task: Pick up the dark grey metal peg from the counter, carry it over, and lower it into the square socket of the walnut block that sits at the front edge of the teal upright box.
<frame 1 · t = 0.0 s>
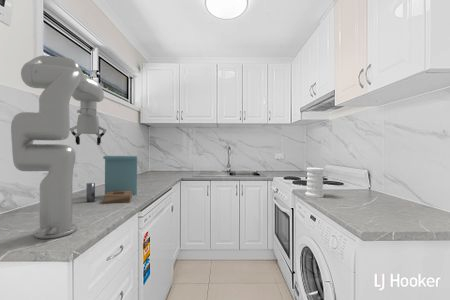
hand: (88, 144, 126), 31 cm above the countertop, tool pointing down, fingers open, 9 cm apart
decorative container: (314, 195, 156), on the countertop
peg: (90, 201, 128), on the countertop
teal upright box: (120, 176, 142), on the countertop
socket block: (118, 200, 133), on the countertop
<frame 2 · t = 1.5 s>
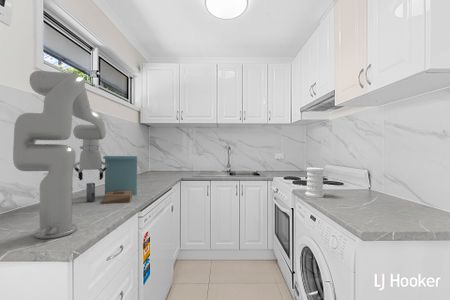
hand: (91, 179, 129), 12 cm above the countertop, tool pointing down, fingers open, 9 cm apart
nothing on the countertop moved.
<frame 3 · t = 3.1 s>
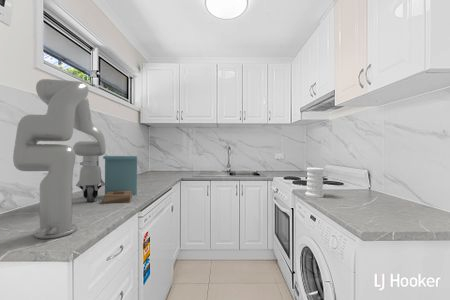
hand: (90, 197, 128), 2 cm above the countertop, tool pointing down, fingers closed on peg, 4 cm apart
peg: (90, 201, 128), on the countertop, touching gripper
everything else where it was.
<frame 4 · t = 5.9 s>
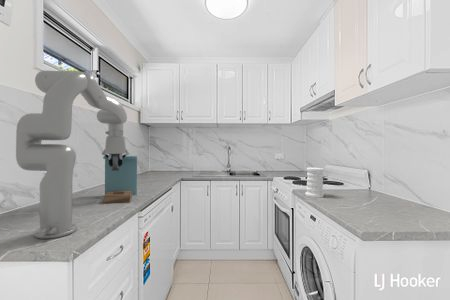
hand: (115, 166, 132), 19 cm above the countertop, tool pointing down, fingers closed on peg, 4 cm apart
peg: (115, 170, 132), point 17 cm above the countertop, touching gripper
everything else where it was.
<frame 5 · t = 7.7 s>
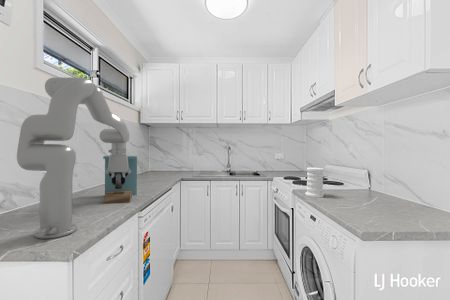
hand: (118, 184, 132), 9 cm above the countertop, tool pointing down, fingers closed on peg, 4 cm apart
peg: (118, 188, 133), point 7 cm above the countertop, touching gripper
everything else where it was.
when the fingers open (5 cm above the countertop, at t = 8.9 s): peg drops 2 cm, resting in socket block.
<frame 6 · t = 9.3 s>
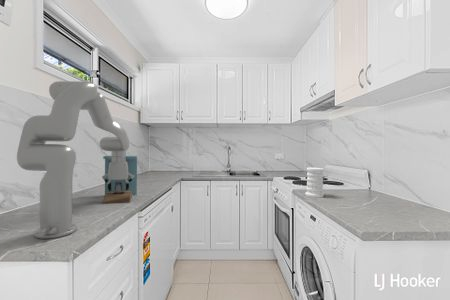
hand: (118, 190, 133), 6 cm above the countertop, tool pointing down, fingers open, 8 cm apart
peg: (118, 200, 133), resting in socket block
everything else where it was.
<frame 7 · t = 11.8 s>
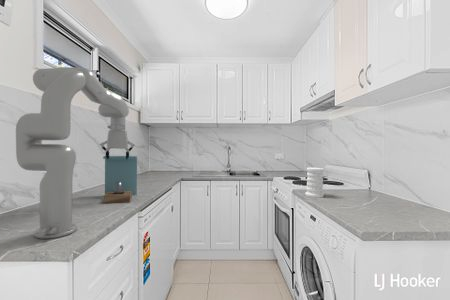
hand: (117, 158, 131), 23 cm above the countertop, tool pointing down, fingers open, 9 cm apart
nothing on the countertop moved.
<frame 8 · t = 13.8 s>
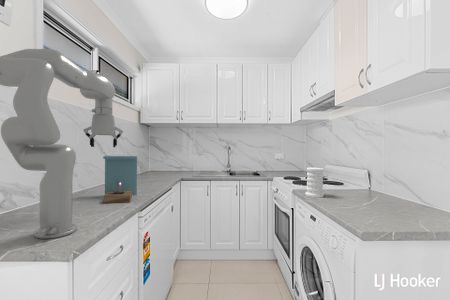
hand: (103, 147, 115), 30 cm above the countertop, tool pointing down, fingers open, 9 cm apart
nothing on the countertop moved.
at the end: peg 0.0 cm off-centre on the socket block, point 0.0 cm above the socket block's base; peg tilted 0°; the gripper is holding nothing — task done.
